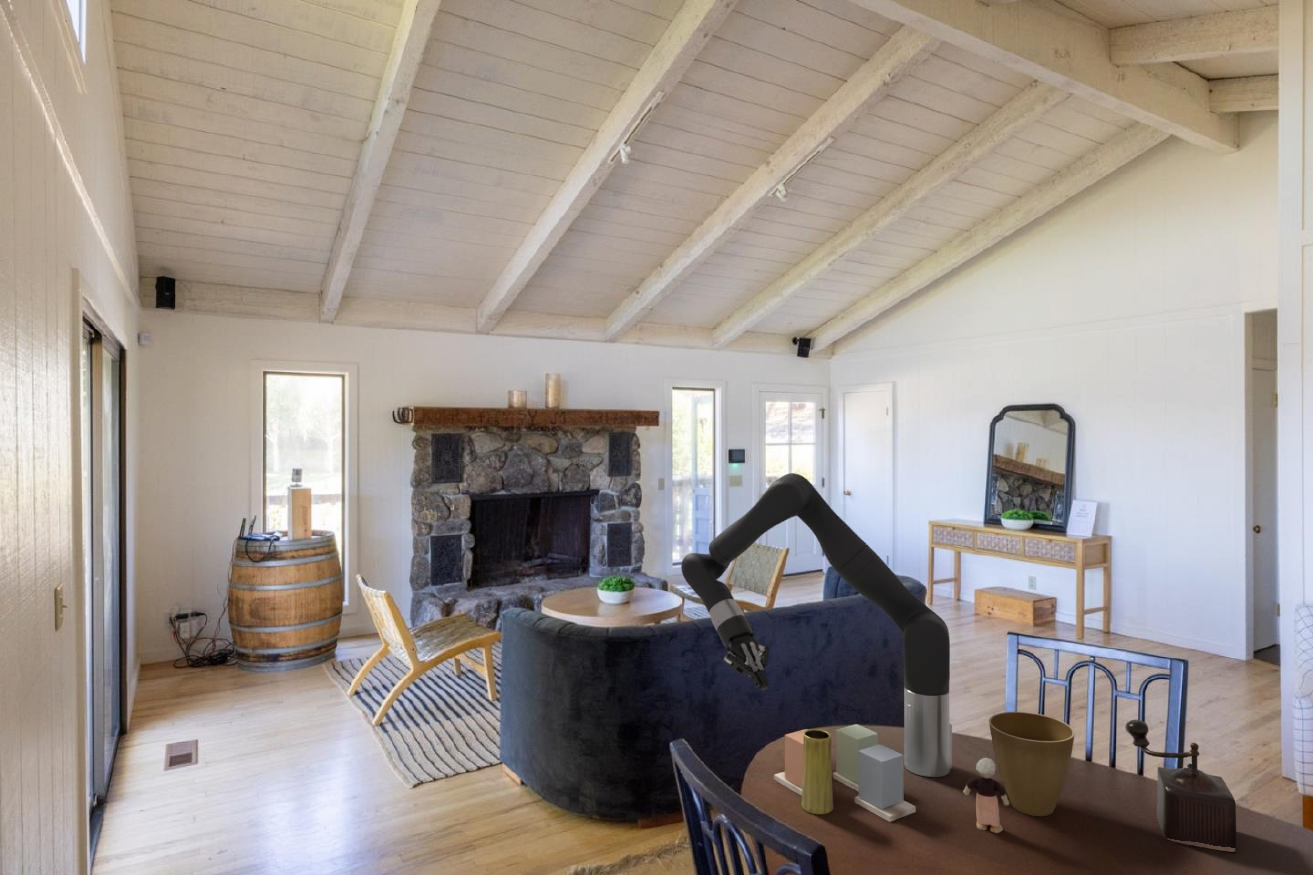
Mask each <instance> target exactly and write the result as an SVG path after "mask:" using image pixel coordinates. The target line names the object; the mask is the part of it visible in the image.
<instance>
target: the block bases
mask: <svg viewBox="0 0 1313 875" xmlns="http://www.w3.org/2000/svg"><path fill="white" fill-rule="evenodd" d="M832 779H834V780H836V781H837V782H840V783H842V784H843V785H845V786H847V787H849V788H850V789H852V790H854V789H855V790H854V791H856V792H858V783H856V782H854V781H852V780H850V779H848V778H846V777H844V776H842V775H840V774H838V773H837V772H836V771H835V772H832ZM773 780H774V781H776V782H777V783H779V784H780V785H783V786H784V787H786V788H787V789H789V790H790V791H793V792H795V793H796V794H798V795H799V796H801V797H802V788H801V787H799V786H798V785H796V784H794V783H792V782H791V781H789V780H787V779H785V770H784V771H782V772H778V773H775V774H773ZM854 803H855V804H857V805H859V807H862V808H864V809H866V810H868V811H869V812H871V813H873V814H874V815H877V816H879V817H880V818H881V819H883V820H886V821H887V822H889V823H891V822H893V821H896V820H898V819H901V818H903V817H907V816H909V815H911V814H914V813H916V810H917V808H916V806H915V805H913V804H911V803H910V802H907V801H906V800H904V801H903V802H900V803H897V804H895V805H892V806H889V807H887V808H884V809H881V808H879V807H877V806H875V805H873V804H871V803H870V802H868V801H866V800H864V799H862V798H860V797H858V795H857V796H855V797H854Z"/></svg>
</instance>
